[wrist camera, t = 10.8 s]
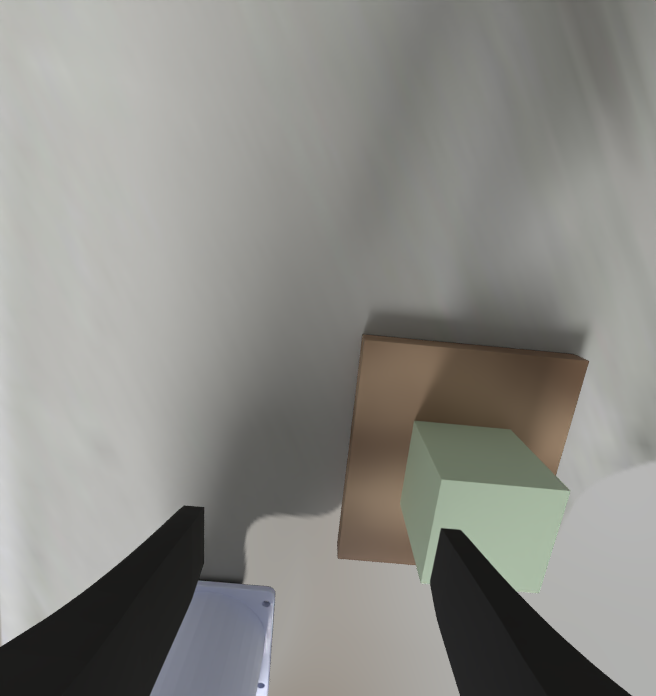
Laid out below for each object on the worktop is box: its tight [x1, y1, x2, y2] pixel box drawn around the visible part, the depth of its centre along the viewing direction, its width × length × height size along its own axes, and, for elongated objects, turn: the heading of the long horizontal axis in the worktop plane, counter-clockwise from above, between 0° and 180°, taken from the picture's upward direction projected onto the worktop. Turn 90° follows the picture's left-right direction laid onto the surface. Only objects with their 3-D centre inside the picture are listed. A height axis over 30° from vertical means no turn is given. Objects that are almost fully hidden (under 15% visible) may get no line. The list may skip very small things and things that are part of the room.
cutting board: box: [337, 334, 589, 565], centre depth 20 cm, size 13×11×1 cm
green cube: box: [400, 421, 570, 593], centre depth 17 cm, size 5×5×5 cm
